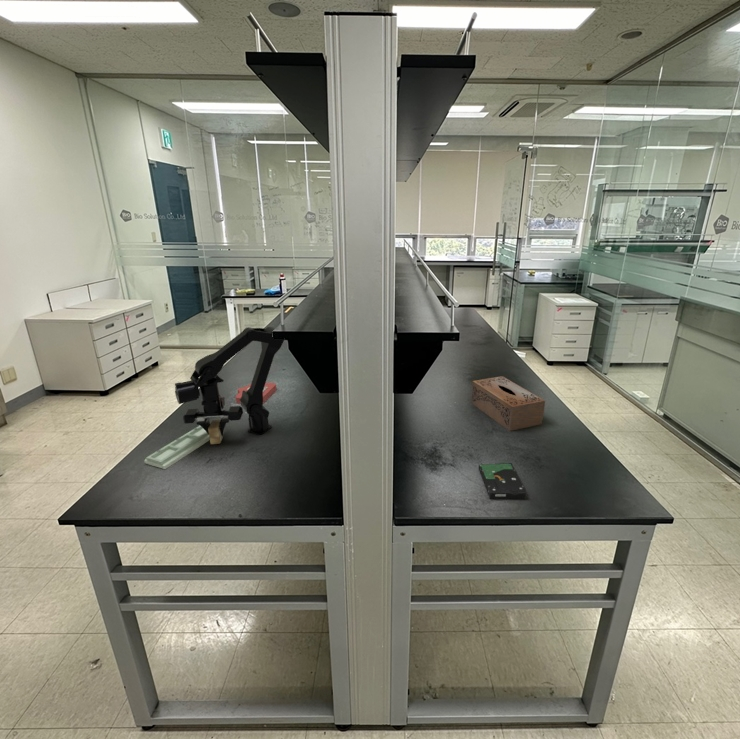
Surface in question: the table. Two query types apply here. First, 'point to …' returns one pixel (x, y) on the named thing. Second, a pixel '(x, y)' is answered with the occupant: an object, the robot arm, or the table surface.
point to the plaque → (267, 391)
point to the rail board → (178, 448)
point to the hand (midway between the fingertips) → (217, 436)
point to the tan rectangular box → (215, 432)
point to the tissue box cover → (507, 403)
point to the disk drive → (502, 481)
